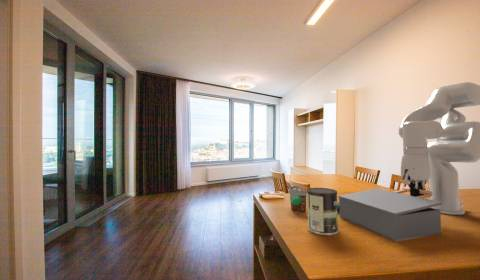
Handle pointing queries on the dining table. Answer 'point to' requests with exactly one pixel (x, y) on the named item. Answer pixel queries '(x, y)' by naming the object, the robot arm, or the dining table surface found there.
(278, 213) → the dining table surface
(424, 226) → the box
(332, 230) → the coffee can
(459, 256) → the dining table surface
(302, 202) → the food container
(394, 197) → the lid
